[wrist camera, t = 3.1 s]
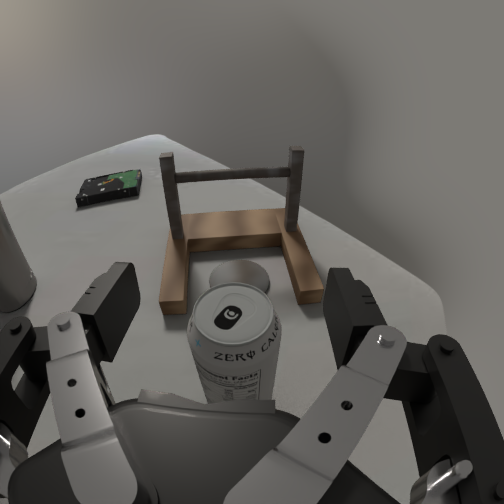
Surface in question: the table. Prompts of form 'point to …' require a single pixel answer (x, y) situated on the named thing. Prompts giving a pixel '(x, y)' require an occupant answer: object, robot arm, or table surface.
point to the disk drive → (109, 187)
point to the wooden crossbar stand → (235, 235)
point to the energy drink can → (235, 342)
